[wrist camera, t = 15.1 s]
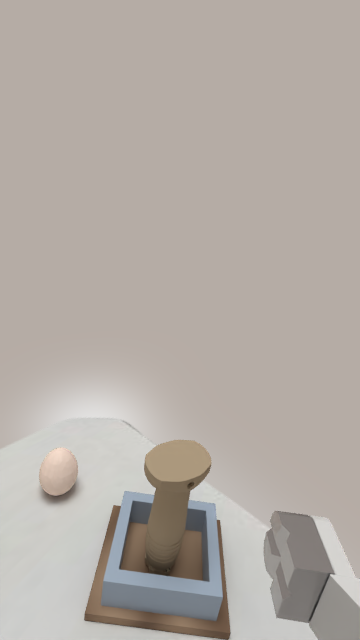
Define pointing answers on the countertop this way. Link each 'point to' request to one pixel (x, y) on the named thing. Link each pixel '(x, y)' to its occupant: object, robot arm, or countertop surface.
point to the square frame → (159, 589)
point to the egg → (58, 471)
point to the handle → (171, 498)
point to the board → (134, 560)
